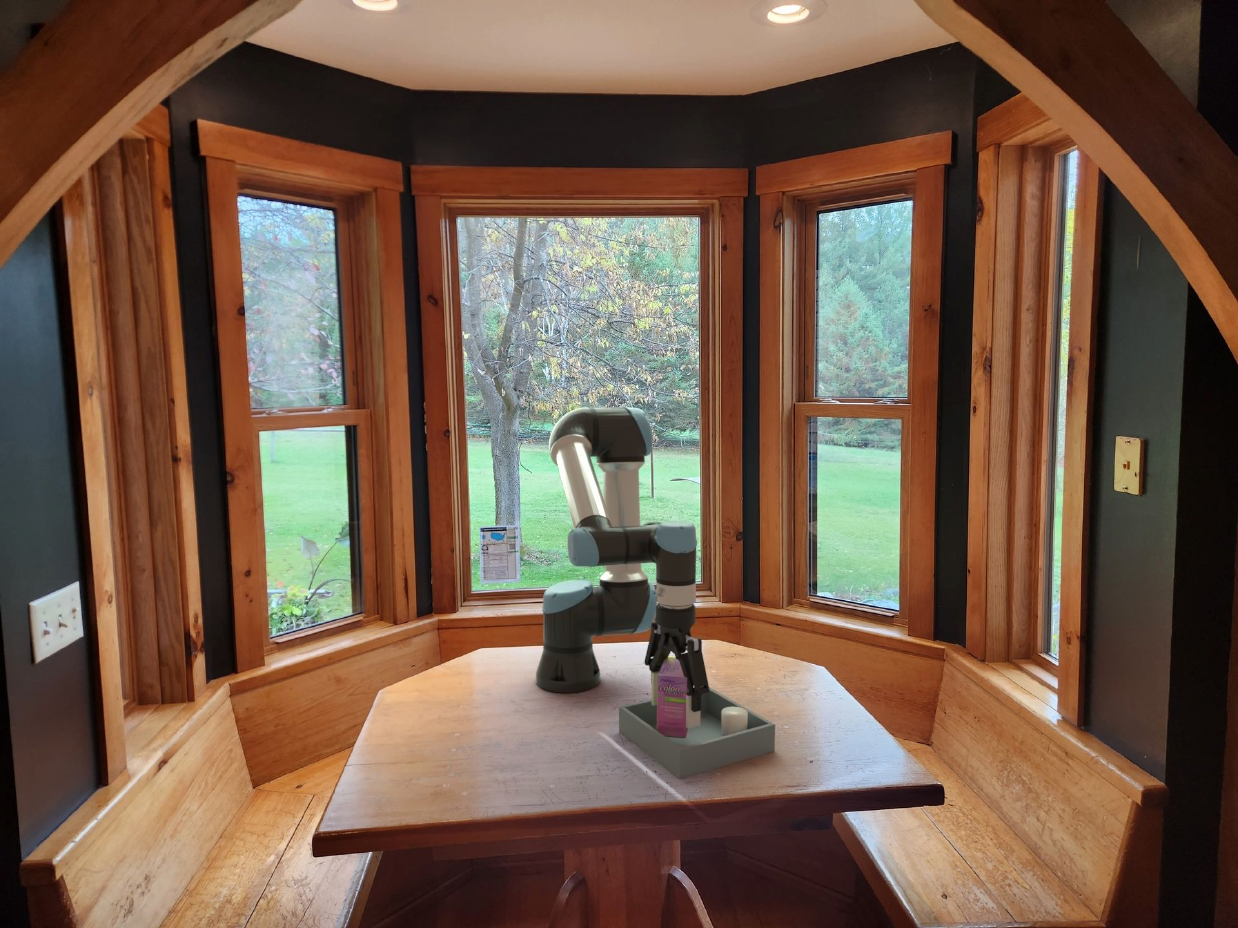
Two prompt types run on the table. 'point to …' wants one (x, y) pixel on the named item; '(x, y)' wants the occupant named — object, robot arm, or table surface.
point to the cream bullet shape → (733, 720)
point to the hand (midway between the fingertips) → (675, 714)
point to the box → (671, 699)
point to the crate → (697, 737)
